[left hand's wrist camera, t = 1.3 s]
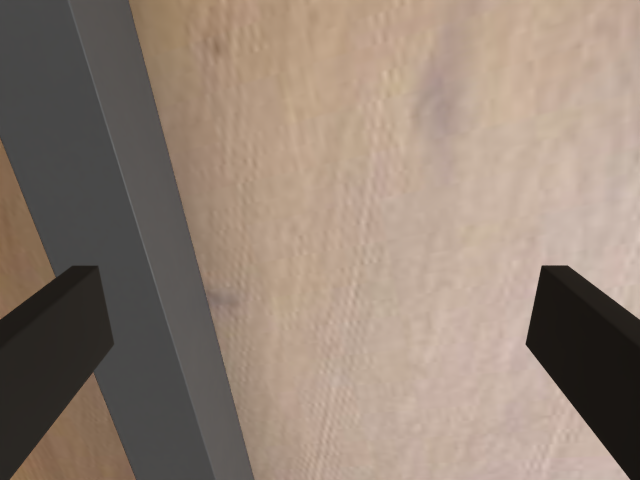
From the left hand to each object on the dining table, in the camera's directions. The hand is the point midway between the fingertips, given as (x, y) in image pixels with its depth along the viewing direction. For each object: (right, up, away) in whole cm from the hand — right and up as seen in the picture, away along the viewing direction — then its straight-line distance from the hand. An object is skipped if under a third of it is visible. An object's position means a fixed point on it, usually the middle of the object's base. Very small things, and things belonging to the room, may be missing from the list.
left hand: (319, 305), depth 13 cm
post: (-11, -10, +25) cm, 29 cm away
